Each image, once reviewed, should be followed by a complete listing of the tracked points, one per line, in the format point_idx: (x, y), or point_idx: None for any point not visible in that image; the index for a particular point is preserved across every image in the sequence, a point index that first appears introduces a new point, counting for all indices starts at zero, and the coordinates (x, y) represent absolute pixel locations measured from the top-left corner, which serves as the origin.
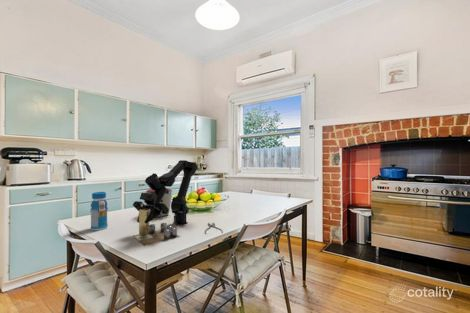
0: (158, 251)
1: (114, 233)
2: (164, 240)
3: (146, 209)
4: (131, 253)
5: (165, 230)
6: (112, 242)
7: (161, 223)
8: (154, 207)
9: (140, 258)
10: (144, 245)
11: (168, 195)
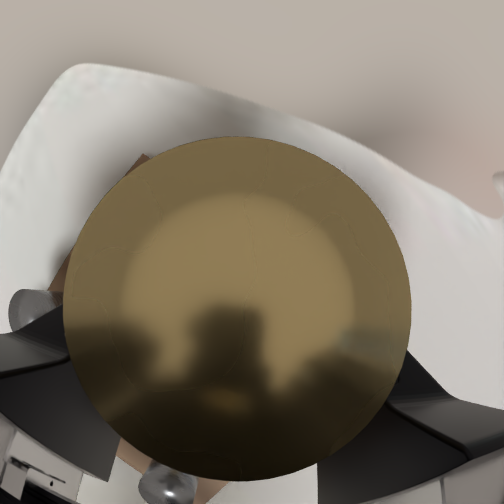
0: (56, 150)
1: (495, 340)
2: (61, 273)
3: (137, 353)
4: (177, 89)
5: (30, 303)
6: (413, 200)
7: (187, 496)
8: (15, 492)
9: (108, 71)
10: (140, 157)
11: None
